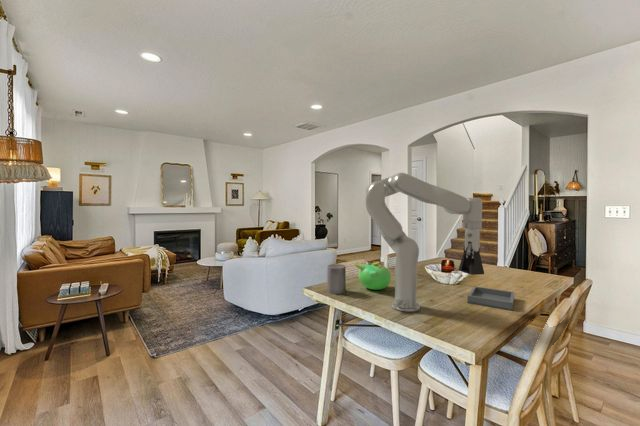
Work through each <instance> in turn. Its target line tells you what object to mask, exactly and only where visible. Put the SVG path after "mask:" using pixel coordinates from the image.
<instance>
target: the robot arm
mask: <svg viewBox="0 0 640 426" xmlns="http://www.w3.org/2000/svg"><path fill="white" fill-rule="evenodd" d="M397 193H401V194H404V195H406V196H409V197H411V198H413V199H415V200H417V201H419V202H422V203H426V204H431V205H436V206H437V207H442V208H443V209H444V211H445V212H446V213H448V214H451V215H461V216H462V229H465V231H464V246H465V251H467V255H466V267H469V266H470V263H471V265H472V263H473V265H474V251H475V252H477V251H479V248H480V247H481V243H480V242H481V241H480V240H481V239H480V237H481V235H480V230H483V229H482V228H483V223H482V222H483V200H482V198H480V197H464V196H462V195H460V194H458V193H456V192H453V191H450V190H448V189H445V188H442V187H440V186H437V185H435V184H432V183H428V182H427V181H424V180H421V179H420V178H417V177H415V176H414V175H410V174H408V173H406V172H399V173H396V174H393V175H392V176H388V177H385V178H383V179H381V180H375V181H373V182H371V183H369V184H368V185H367V186H366V189H365V194H366V195H365V207H366V211H367V213H368V215H369V216H370V218H371V219H372V221H373V222H374V224H375V225H376V226H377V227H378V228H377V229H378V232H379V234H380V235H381V237H382V238H383V239H384V241H385V242H386V243H387V245H388V246H389V247H390V249H392V251H393V252H394V254H396V257H395V264H394V265H395V266H394V269H395V270H394V273H395V275H394V300H393V301H392V302H391V303H390V304H391V308H392V309H394V310H397V311H400V312H407V313H408V312H409V313H411V312H413V313H414V312H418V311H420V310H421V305H420V304H419V303H417V299H418V296H417V294H418V285H417V284H418V262H419V254H420V248H419V245H418V243H417V242H416V241H415V240H414V239H413V238H411V237H408V236H407V234H406V233H405V231H404V230H403V226H402V224H401V223H400V221H399V220H398V219H397V218H396V216H395V215H394V214H393V213H392V212H391V210H390V208H389V207H388V206H387V204H386V197H389V196H392V195H395V194H397ZM466 248H467V249H466ZM480 249H481V248H480ZM471 250H473V251H471Z"/></svg>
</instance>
